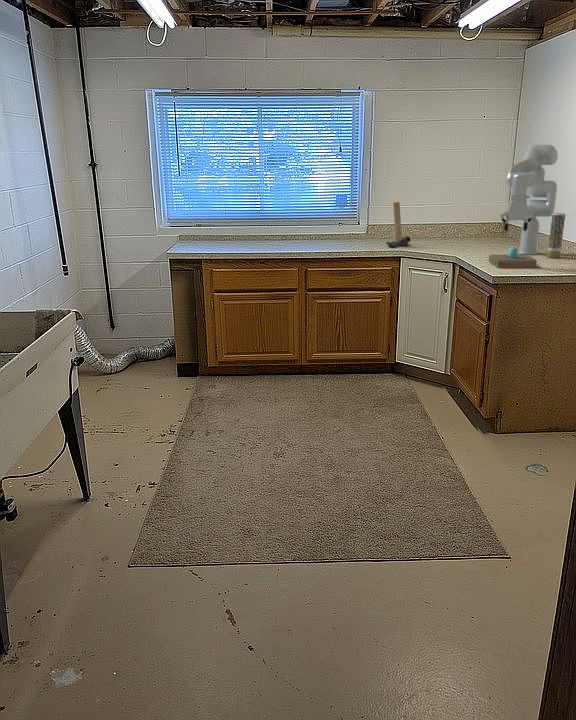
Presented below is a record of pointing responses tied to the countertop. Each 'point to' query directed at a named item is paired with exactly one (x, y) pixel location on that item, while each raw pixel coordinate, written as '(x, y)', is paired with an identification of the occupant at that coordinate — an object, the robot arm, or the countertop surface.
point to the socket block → (512, 261)
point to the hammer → (398, 228)
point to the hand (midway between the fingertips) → (515, 230)
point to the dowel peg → (512, 253)
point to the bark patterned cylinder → (556, 235)
